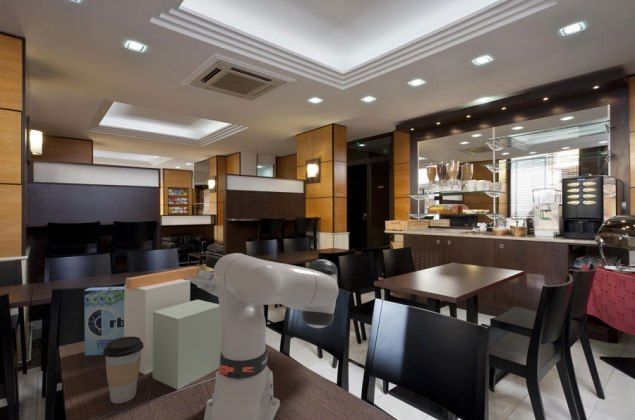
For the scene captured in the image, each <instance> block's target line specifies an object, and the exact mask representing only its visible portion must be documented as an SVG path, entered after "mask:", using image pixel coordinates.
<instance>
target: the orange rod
mask: <svg viewBox="0 0 635 420" xmlns="http://www.w3.org/2000/svg"><path fill="white" fill-rule="evenodd" d="M198 270H201V266H191V267H190V266H189V267H184V268H180V269H179V268H178V269H173V270H166V271H161V272H156V273H150V274H144V275H138V276H133V277H132V276H131V277H127V278H125V285H126V288H128V289H135V288H140V287H145V286H150V285H155V284H160V283H165V282H170V281H175V280H180V279H184V280H186V279H185V278H190V277H194V276H199V275H197V272H198Z"/></svg>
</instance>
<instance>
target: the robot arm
mask: <svg viewBox="0 0 635 420" xmlns="http://www.w3.org/2000/svg"><path fill="white" fill-rule="evenodd" d="M338 274H339V273H338V268H337V266H336V264H335V263H334V262H332V261H330V260H328V259H323V258H322V259H316V260H313V261H311V262H310V263H309V264H308V266H307V267H303V266H297V265H293V264H288V263H281V262H275V261H270V260H265V259H261V258H258V257H255V256H250V255H247V254H244V253H241V252H240V253H239V252H235V253H229V254H226V255H224V256H221V257H220V258H219V259H218V260H217V262H216V263H215V265H214V268H213V272H210V271H205V270H201V269H200V270H198V272H197V275H199V276H194V277H190V278H185V279H184V280H190V283H192V284H194V285H195V286H196V287H197V288H199V289H201V290H204V291H205V292H207V293H209V294H210V295H213V296H216V297H218V304H219V305H220V311H221V318H222V352H221V355H220V360H219V364H220V365H219V369H217V371H216V372H215V384H214V389H213V390H214V391H213V392H212V393H211V396H210V399H208V400H207V401H206V406H205V411H204V416H203V420H274V418H275V417H276V414H277V412H278V410H279V408H280V406H281V402H280V399H278V398H277V397H275V396H274V375H273V371H272V370H271V369H270V368H269V367H268V350H267V347H266V341H267V340H266V337H267V336H266V331H267V329H266V326H267V325H266V324H267V323H266V317H265V315H264V314H265V313H264V312H263V310H262V307H261V306H264V305H283V306H285V307H286V308H289V309H294V310H302V311H301V315H302V321H303V322H304V323H305V324H306V325H308V326H309V327H310V328H311V327H312V328H315V329H323V328H326V327H329V326H330V325H332V324H333V321H334V317H335V314H334V312H335V309H336V303H337V301H336V300H337V298H338V296H339V285H338Z"/></svg>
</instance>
